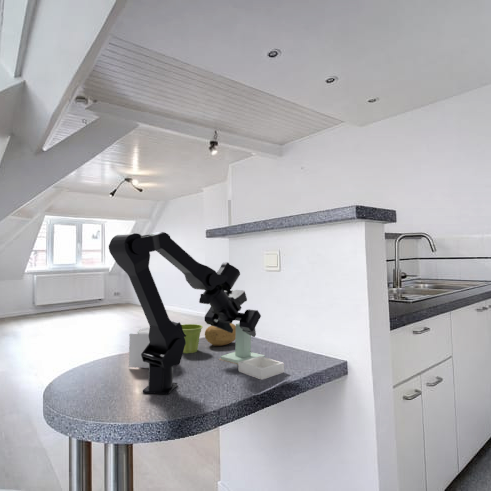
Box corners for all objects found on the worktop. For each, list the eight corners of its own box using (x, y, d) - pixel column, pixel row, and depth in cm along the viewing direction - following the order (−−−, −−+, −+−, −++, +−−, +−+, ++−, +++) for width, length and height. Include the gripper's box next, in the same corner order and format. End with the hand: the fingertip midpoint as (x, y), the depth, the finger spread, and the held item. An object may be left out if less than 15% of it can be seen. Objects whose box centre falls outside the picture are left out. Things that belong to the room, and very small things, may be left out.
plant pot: (196, 356, 109) (197, 329, 110) (169, 354, 111) (170, 328, 111) (205, 349, 118) (206, 324, 119) (180, 347, 120) (181, 323, 121)
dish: (261, 381, 87) (261, 369, 87) (238, 372, 93) (238, 362, 93) (283, 373, 93) (283, 362, 93) (260, 366, 99) (260, 356, 100)
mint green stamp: (245, 365, 98) (246, 328, 99) (220, 359, 105) (221, 324, 105) (264, 358, 106) (265, 323, 107) (240, 353, 113) (241, 320, 113)
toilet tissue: (178, 360, 105) (179, 327, 106) (159, 371, 93) (160, 335, 94) (148, 357, 108) (149, 326, 108) (126, 368, 96) (127, 333, 97)
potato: (197, 346, 123) (198, 324, 123) (226, 340, 132) (227, 320, 133) (213, 351, 116) (214, 328, 116) (243, 345, 125) (243, 323, 126)
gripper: (257, 283, 97) (277, 316, 105) (211, 280, 108) (232, 310, 116) (240, 313, 90) (263, 346, 98) (192, 307, 102) (217, 337, 110)
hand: (243, 333), depth 106 cm, fingers open, 9 cm apart
